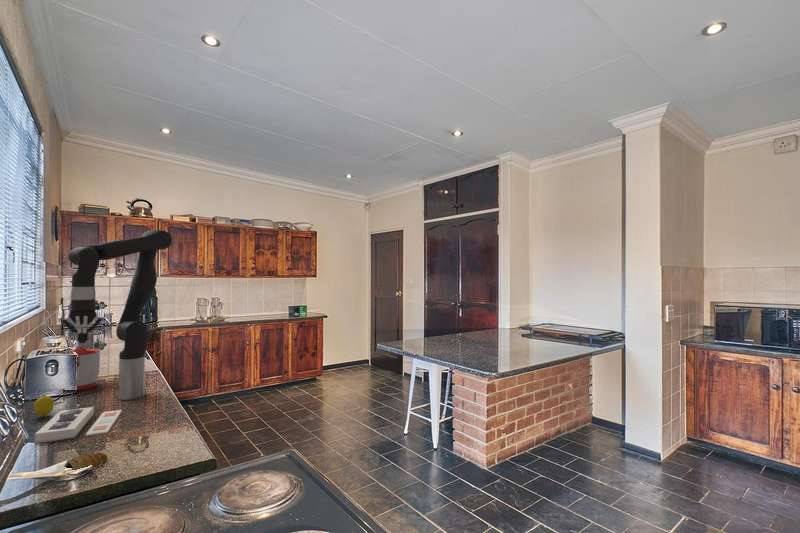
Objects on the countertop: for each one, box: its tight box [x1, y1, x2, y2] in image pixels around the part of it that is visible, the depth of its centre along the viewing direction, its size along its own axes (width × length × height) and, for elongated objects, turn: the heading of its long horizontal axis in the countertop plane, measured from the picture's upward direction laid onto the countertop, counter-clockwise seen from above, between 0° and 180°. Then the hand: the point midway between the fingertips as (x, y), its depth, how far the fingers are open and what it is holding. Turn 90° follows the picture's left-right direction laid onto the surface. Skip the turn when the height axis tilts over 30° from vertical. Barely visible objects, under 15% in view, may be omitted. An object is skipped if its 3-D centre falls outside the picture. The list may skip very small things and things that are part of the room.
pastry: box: [63, 452, 108, 470], centre depth 111 cm, size 9×7×4 cm
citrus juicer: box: [73, 345, 101, 391], centre depth 184 cm, size 16×17×20 cm
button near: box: [52, 422, 68, 430], centre depth 132 cm, size 4×4×3 cm
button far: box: [67, 408, 81, 414], centre depth 145 cm, size 4×4×3 cm
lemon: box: [33, 395, 55, 418], centre depth 149 cm, size 6×6×8 cm
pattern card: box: [85, 409, 123, 437], centre depth 143 cm, size 6×23×1 cm, turn 25°
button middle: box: [60, 411, 75, 422], centre depth 138 cm, size 4×4×3 cm
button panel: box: [34, 406, 95, 444], centre depth 138 cm, size 10×23×3 cm, turn 25°
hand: (82, 342), depth 154 cm, fingers closed
